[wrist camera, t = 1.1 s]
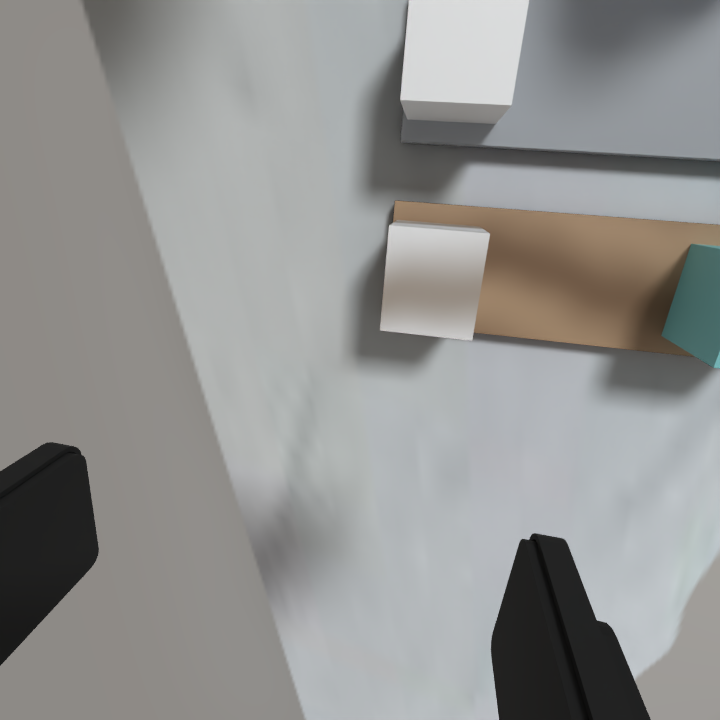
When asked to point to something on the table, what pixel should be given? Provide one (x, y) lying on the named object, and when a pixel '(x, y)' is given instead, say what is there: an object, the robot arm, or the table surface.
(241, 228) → the table surface
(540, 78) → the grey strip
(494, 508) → the table surface
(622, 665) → the robot arm
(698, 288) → the teal cube
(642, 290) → the walnut strip
